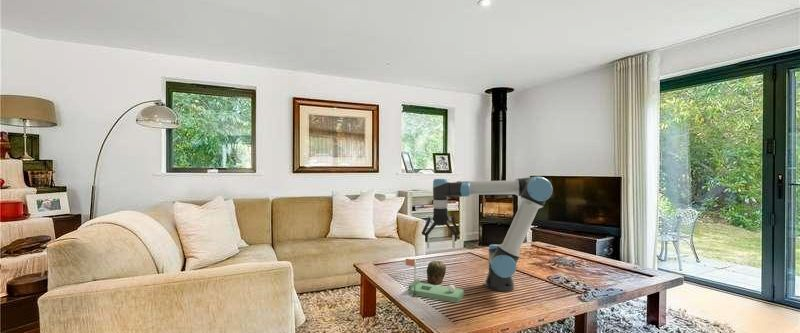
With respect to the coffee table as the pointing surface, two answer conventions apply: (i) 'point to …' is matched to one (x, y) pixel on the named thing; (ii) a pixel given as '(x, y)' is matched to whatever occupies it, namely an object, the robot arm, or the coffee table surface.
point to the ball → (451, 288)
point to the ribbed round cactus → (436, 272)
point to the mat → (435, 292)
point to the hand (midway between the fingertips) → (440, 247)
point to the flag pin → (413, 263)
